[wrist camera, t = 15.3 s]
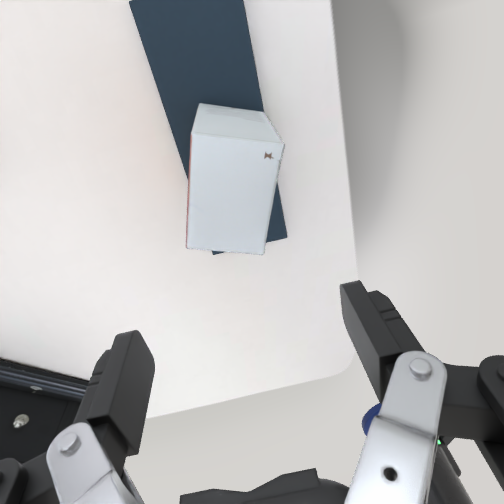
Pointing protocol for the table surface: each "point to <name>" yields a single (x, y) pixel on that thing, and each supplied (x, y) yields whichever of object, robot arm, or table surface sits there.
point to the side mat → (201, 67)
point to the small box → (231, 179)
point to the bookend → (34, 409)
